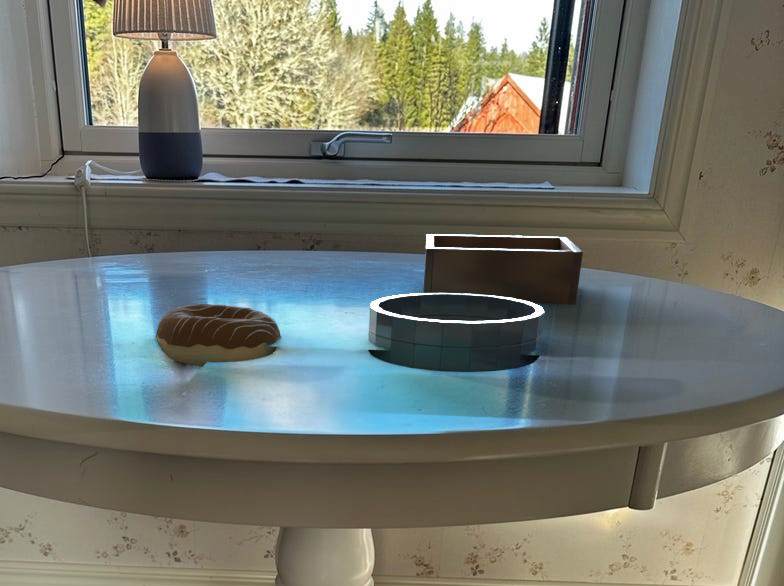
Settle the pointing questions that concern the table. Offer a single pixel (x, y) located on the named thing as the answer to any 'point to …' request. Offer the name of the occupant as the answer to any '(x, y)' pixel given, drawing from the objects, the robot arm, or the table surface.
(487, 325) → the bowl
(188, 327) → the donut
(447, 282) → the box
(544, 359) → the table surface
